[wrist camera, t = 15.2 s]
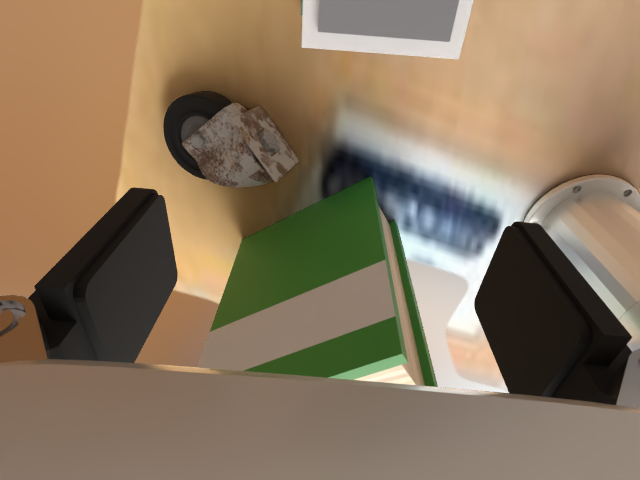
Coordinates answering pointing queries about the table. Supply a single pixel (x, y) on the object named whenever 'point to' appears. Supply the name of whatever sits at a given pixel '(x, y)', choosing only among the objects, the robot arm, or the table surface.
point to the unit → (387, 26)
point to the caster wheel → (226, 141)
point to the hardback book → (323, 298)
